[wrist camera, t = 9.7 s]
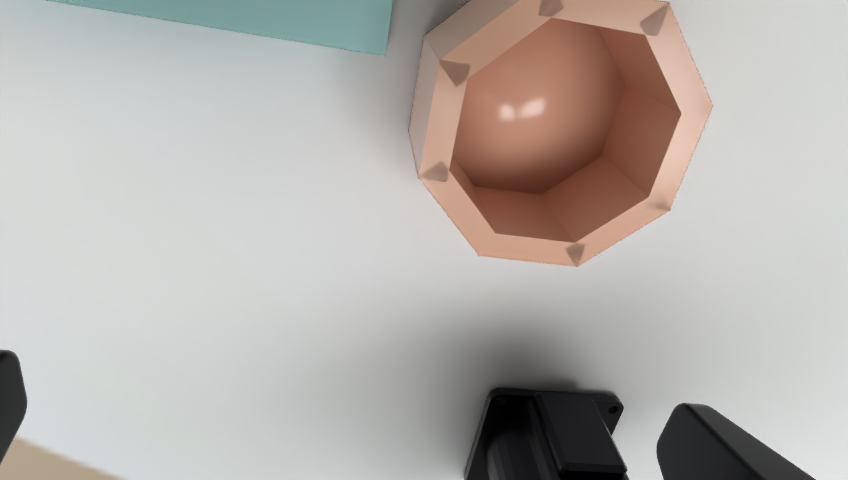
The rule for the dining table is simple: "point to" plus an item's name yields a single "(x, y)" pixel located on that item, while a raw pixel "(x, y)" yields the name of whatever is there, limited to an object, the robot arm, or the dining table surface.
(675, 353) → the dining table surface
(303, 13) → the board
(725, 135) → the dining table surface
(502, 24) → the pink octagonal bowl
